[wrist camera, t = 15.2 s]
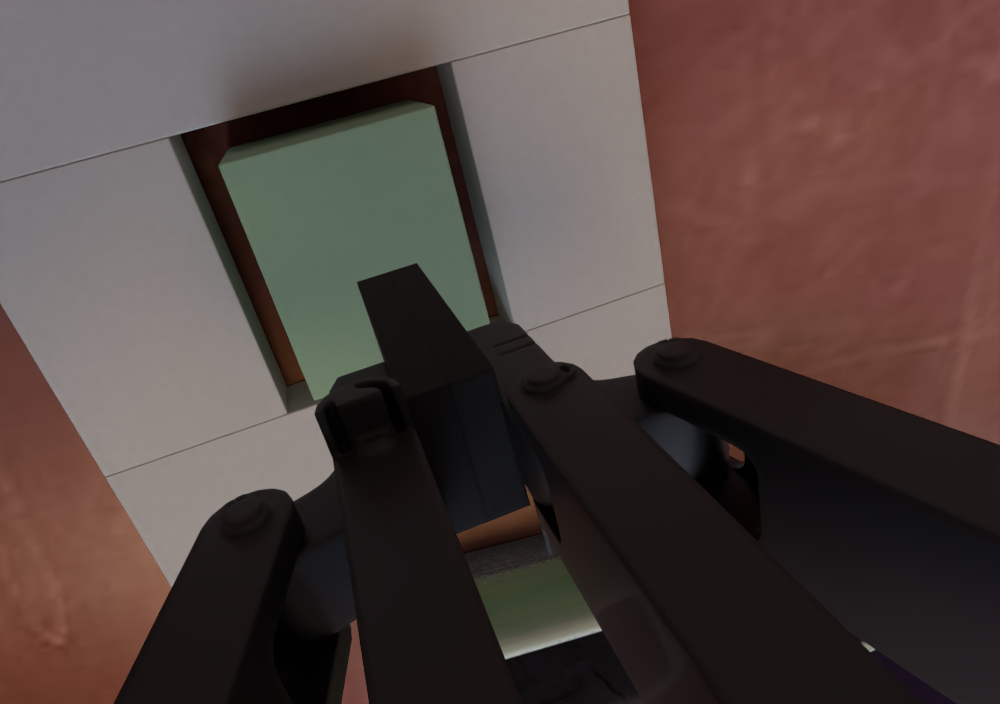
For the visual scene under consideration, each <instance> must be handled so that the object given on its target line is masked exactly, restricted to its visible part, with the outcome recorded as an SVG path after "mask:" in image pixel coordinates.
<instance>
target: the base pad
mask: <svg viewBox="0 0 1000 704" xmlns="http://www.w3.org/2000/svg"><path fill="white" fill-rule="evenodd" d="M432 66H436V69H437V73H438V77H439V81H440V85H441V89H442V93H443V97H444V101H445V105H446V109H447V113H448V117H449V121H450V125H451V129H452V133H453V136H454V140H455V144H456V148H457V152H458V156H459V160H460V164H461V168H462V172H463V176H464V180H465V184H466V188H467V192H468V196H469V200H470V204H471V208H472V212H473V216H474V220H475V224H476V228H477V232H478V236H479V240H480V244H481V248H482V252H483V256H484V260H485V264H486V268H487V272H488V276H489V280H490V284H491V288H492V292H493V295H494V299H495V303H496V307H497V311H498V314H499V315H496V316H493V317H490V318H489V321H490V323H493V322H496V321H499V320H505V321H508V322H512V323H515V324H519V325H520V326H521V327H522V329H523V330H524V331H525V332H526V333H527V334H528V336H530V337H531V338H532V339H533V340H534V341H535V343H536V344H538V345H539V346H540V347H541V348H542V349H543V350H544V352H545V353H546V354H547V355H548V356H549V357H550V358H551V359H552V360H553V361H554V362H565V363H571V364H574V365H576V366H578V367H580V368H582V369H583V370H584V371H585V372H586V373H587V374H588V375H589V376H590V377H591V378H592V379H593V380H605V379H613V378H619V377H624V376H630V375H635V369H634V363H633V361H634V359H635V357H636V355H637V353H639V352H640V351H642V350H643V349H644V348H646V347H647V346H650V345H652V344H655V343H657V342H658V341H661V340H665V339H667V340H669V338H672V335H671V328H670V320H669V312H668V305H667V297H666V289H665V284H664V274H663V266H662V259H661V251H660V243H659V235H658V228H657V220H656V212H655V204H654V197H653V189H652V181H651V174H650V166H649V158H648V150H647V143H646V135H645V127H644V120H643V112H642V104H641V96H640V89H639V81H638V73H637V65H636V58H635V50H634V42H633V35H632V27H631V19H630V15H629V4H628V0H0V304H1V305H2V307H3V309H4V310H5V312H6V314H7V315H8V317H9V319H10V320H11V322H12V324H13V325H14V327H15V329H16V330H17V332H18V334H19V335H20V337H21V339H22V340H23V342H24V343H25V345H26V347H27V348H28V350H29V352H30V353H31V355H32V357H33V358H34V360H35V362H36V363H37V365H38V367H39V368H40V370H41V372H42V373H43V375H44V377H45V378H46V380H47V382H48V383H49V385H50V387H51V388H52V390H53V392H54V393H55V395H56V397H57V398H58V400H59V401H60V403H61V405H62V406H63V408H64V410H65V411H66V413H67V415H68V416H69V418H70V420H71V421H72V423H73V425H74V426H75V428H76V430H77V431H78V433H79V435H80V436H81V438H82V440H83V441H84V443H85V445H86V446H87V448H88V450H89V451H90V453H91V455H92V456H93V458H94V459H95V461H96V463H97V464H98V466H99V468H100V469H101V471H102V473H103V474H104V476H106V479H107V481H108V483H109V484H110V486H111V488H112V489H113V491H114V493H115V494H116V496H117V497H118V499H119V501H120V502H121V504H122V506H123V507H124V509H125V511H126V512H127V514H128V516H129V517H130V519H131V521H132V522H133V524H134V526H135V527H136V529H137V531H138V532H139V534H140V536H141V537H142V539H143V541H144V542H145V544H146V546H147V547H148V549H149V551H150V552H151V554H152V556H153V557H154V559H155V560H156V562H157V564H158V565H159V567H160V569H161V570H162V572H163V574H164V575H165V577H166V579H167V580H168V582H169V584H170V585H171V587H172V586H173V584H174V582H175V580H176V578H177V576H178V574H179V572H180V570H181V568H182V566H183V564H184V562H185V560H186V558H187V556H188V554H189V552H190V550H191V548H192V546H193V544H194V542H195V540H196V538H197V536H198V534H199V532H200V530H201V529H202V527H203V526H204V525H205V523H206V522H207V521H208V519H209V518H210V517H211V516H212V515H213V514H214V513H215V512H217V511H218V510H219V509H220V508H221V507H223V506H224V505H225V504H226V503H228V502H229V501H231V500H232V499H233V500H234V499H235V498H236V497H239V496H241V495H243V494H248V493H251V492H254V491H257V490H263V489H272V488H274V489H279V490H283V491H286V492H287V493H288V495H289V496H290V497H291V498H292V500H293V501H295V500H297V499H298V498H300V497H302V496H304V495H305V494H307V493H309V492H310V491H312V490H313V489H315V488H316V487H318V486H319V485H320V484H321V483H323V482H324V481H325V480H326V479H327V478H328V477H329V476H330V475H331V474H332V472H333V471H334V464H333V458H332V456H331V454H330V451H329V449H328V446H327V444H326V441H325V439H324V437H323V434H322V432H321V429H320V427H319V424H318V422H317V420H316V417H315V415H314V414H315V410H316V406H317V405H318V404H319V403H320V401H321V400H322V399H323V398H321V399H318V400H313V397H312V395H311V393H310V390H309V388H308V385H307V383H306V380H305V381H302V382H299V383H296V384H293V385H290V386H287V385H286V383H285V380H284V378H283V376H282V373H281V371H280V369H279V366H278V364H277V361H276V359H275V357H274V354H273V352H272V350H271V347H270V345H269V343H268V340H267V338H266V336H265V333H264V331H263V329H262V326H261V324H260V321H259V319H258V317H257V314H256V312H255V310H254V307H253V305H252V303H251V300H250V298H249V296H248V293H247V291H246V289H245V286H244V284H243V281H242V279H241V277H240V274H239V272H238V270H237V267H236V265H235V263H234V260H233V258H232V256H231V253H230V251H229V248H228V246H227V244H226V241H225V239H224V237H223V234H222V232H221V230H220V227H219V225H218V223H217V220H216V218H215V216H214V213H213V211H212V208H211V206H210V204H209V201H208V199H207V197H206V194H205V192H204V190H203V187H202V185H201V183H200V180H199V178H198V175H197V173H196V171H195V168H194V166H193V164H192V161H191V159H190V157H189V154H188V152H187V150H186V147H185V145H184V143H183V140H182V138H181V135H180V134H181V133H185V132H189V131H193V130H196V129H200V128H204V127H208V126H211V125H215V124H219V123H223V122H226V121H230V120H234V119H238V118H241V117H245V116H249V115H253V114H256V113H260V112H264V111H268V110H271V109H275V108H279V107H283V106H286V105H290V104H294V103H298V102H301V101H305V100H309V99H313V98H316V97H320V96H324V95H327V94H331V93H335V92H339V91H342V90H346V89H350V88H354V87H357V86H361V85H365V84H369V83H372V82H376V81H380V80H384V79H387V78H391V77H395V76H399V75H402V74H406V73H410V72H414V71H417V70H421V69H425V68H429V67H432Z"/></svg>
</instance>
